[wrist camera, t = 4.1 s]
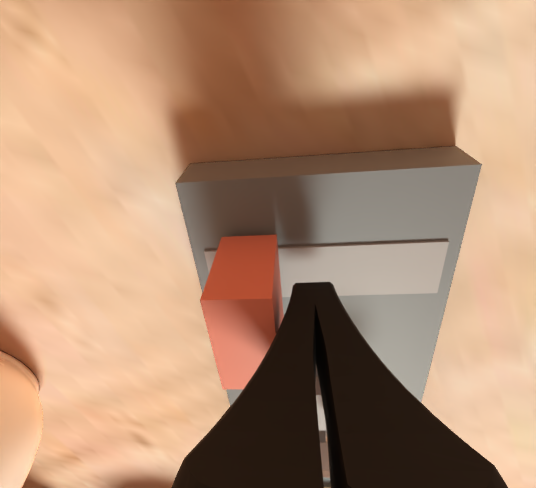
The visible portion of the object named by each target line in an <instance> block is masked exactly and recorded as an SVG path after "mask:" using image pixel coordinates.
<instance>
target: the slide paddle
mask: <svg viewBox="0 0 536 488" xmlns="http://www.w3.org/2000/svg"><path fill="white" fill-rule="evenodd" d="M200 302H201V306H202V310H203V314H204V318H205V322H206V325H207V329H208V333H209V337H210V341H211V345H212V349H213V353H214V357H215V361H216V365H217V368H218V372H219V376H220V380H221V384H222V388H223V389H244V388H245V386H246V385H247V383H248V382H249V380H250V379H251V378H252V376H253V375H254V373H255V372H256V370H257V368H258V367H259V365H260V363H261V362H262V360H263V358H264V357H265V355H266V353H267V351H268V349H269V348H270V346H271V344H272V342H273V340H274V338H275V336H276V334H277V332H278V329H279V327H280V325H281V322H282V320H283V317H284V314H283V302H282V291H281V279H280V267H279V256H278V244H277V235H255V236H233V237H221V240H220V243H219V246H218V249H217V252H216V255H215V258H214V261H213V264H212V267H211V270H210V273H209V276H208V279H207V281H206V284H205V287H204V290H203V293H202V296H201V299H200Z"/></svg>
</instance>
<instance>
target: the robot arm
mask: <svg viewBox="0 0 536 488" xmlns="http://www.w3.org/2000/svg"><path fill="white" fill-rule="evenodd" d="M316 366H317V372H318V379H319V385H320V391H321V397H322V403H323V409H324V415H325V423H326V431H327V444H328V457H329V471H330V484H331V488H508V487H507V485H506V483H505V482H504V480H503V479H502V477H501V475H500V474H499V472H498V471H497V469H496V467H495V466H494V465H493V464H492V463H490V462H489V461H488V460H487V459H485V458H484V457H483V456H482V455H480V454H479V453H478V452H477V451H475V450H474V449H473V448H471V447H470V446H469V445H468V444H467V443H465V442H464V441H463V440H462V439H461V438H459V437H458V436H457V435H456V434H455V433H453V432H452V431H451V430H450V429H449V428H448V427H447V426H445V425H444V424H443V423H442V422H441V421H440V420H439V419H438V418H436V417H435V416H434V415H433V414H432V413H431V412H430V411H429V410H428V409H427V408H426V407H425V406H424V405H423V404H422V403H421V402H420V401H419V400H418V399H417V398H416V397H415V396H414V395H412V394H411V393H410V392H409V391H408V390H407V389H406V388H405V387H404V386H403V384H402V383H401V382H400V381H399V380H398V379H397V378H396V377H395V376H394V375H393V374H392V372H391V371H390V370H389V369H388V368H387V367H386V366H385V364H384V363H383V362H382V361H381V360H380V358H379V357H378V356H377V355H376V353H375V352H374V351H373V350H372V348H371V347H370V346H369V344H368V343H367V342H366V340H365V339H364V337H363V336H362V335H361V333H360V332H359V330H358V329H357V327H356V326H355V324H354V323H353V321H352V319H351V318H350V316H349V315H348V313H347V311H346V310H345V308H344V306H343V304H342V303H341V301H340V299H339V297H338V295H337V293H336V290H335V288H334V285H333V284H332V283H331V282H306V283H295V284H294V285H293V287H292V293H291V297H290V301H289V304H288V307H287V310H286V313H285V315H284V317H283V320H282V322H281V325H280V327H279V329H278V332H277V334H276V336H275V338H274V340H273V342H272V344H271V346H270V348H269V349H268V351H267V353H266V355H265V357H264V358H263V360H262V362H261V363H260V365H259V367H258V368H257V370H256V372H255V373H254V375H253V376H252V378H251V379H250V380H249V382H248V383H247V385H246V386H245V388H244V389H243V391H242V392H241V393H240V395H239V396H238V397H237V399H236V400H235V401H234V403H233V404H232V405H231V406H230V408H229V409H228V410H227V411H226V412H225V414H224V415H223V416H222V417H221V419H220V420H219V421H218V422H217V424H216V425H215V426H214V427H213V428H212V429H211V430H210V431H209V433H208V434H207V435H206V436H205V437H204V438H203V439H202V440H201V441H200V442H199V443H198V444H197V445H196V446H195V448H194V449H193V450H192V451H191V452H190V453H189V454H188V455H187V456H186V457H185V458H184V460H183V462H182V464H181V467H180V469H179V471H178V473H177V475H176V478H175V480H174V483H173V485H172V488H324V483H323V472H322V461H321V449H320V438H319V426H318V414H317V401H316V388H315V385H316Z"/></svg>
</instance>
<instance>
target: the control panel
mask: <svg viewBox="0 0 536 488" xmlns="http://www.w3.org/2000/svg"><path fill="white" fill-rule="evenodd" d="M481 165H482V164H481V163H479V162H478V161H476V160H475V159H474V158H472V157H471V156H469V155H468V154H467V153H465V152H464V151H462V150H461V149H459V148H458V147H457V146H448V147H433V148H418V149H403V150H388V151H373V152H358V153H343V154H328V155H313V156H298V157H283V158H268V159H253V160H238V161H223V162H208V163H193V164H190V165H189V166H188V167H187V169H186V170H185V171H184V173H183V174H182V175H181V176H180V178H179V179H178V180H177V182H176V187H177V191H178V196H179V200H180V204H181V208H182V212H183V216H184V220H185V224H186V228H187V232H188V236H189V240H190V244H191V248H192V252H193V256H194V260H195V264H196V268H197V272H198V277H199V281H200V285H201V289H202V293H203V290H204V287H205V284H206V281H207V279H208V276H209V273H210V270H211V267H212V264H213V261H214V258H215V255H216V252H217V249H218V246H219V243H220V240H221V237H233V236H255V235H277V244H278V256H279V267H280V279H281V291H282V302H283V314H284V315H285V313H286V310H287V307H288V304H289V301H290V297H291V293H292V287H293V285H294V284H295V283H306V282H331V283H332V284H333V285H334V288H335V290H336V293H337V295H338V297H339V299H340V301H341V303H342V304H343V306H344V308H345V310H346V311H347V313H348V315H349V316H350V318H351V319H352V321H353V323H354V324H355V326H356V327H357V329H358V330H359V332H360V333H361V335H362V336H363V337H364V339H365V340H366V342H367V343H368V344H369V346H370V347H371V348H372V350H373V351H374V352H375V353H376V355H377V356H378V357H379V358H380V360H381V361H382V362H383V363H384V364H385V366H386V367H387V368H388V369H389V370H390V371H391V372H392V374H393V375H394V376H395V377H396V378H397V379H398V380H399V381H400V382H401V383H402V384H403V386H404V387H405V388H406V389H407V390H408V391H409V392H410V393H411V394H412V395H414V396H415V397H416V398H417V399H418V400H419V401H420V402H421V401H422V397H423V393H424V389H425V385H426V381H427V377H428V374H429V370H430V366H431V362H432V358H433V354H434V350H435V346H436V342H437V338H438V334H439V330H440V326H441V322H442V319H443V315H444V311H445V307H446V303H447V299H448V295H449V291H450V287H451V283H452V279H453V275H454V271H455V267H456V263H457V260H458V256H459V252H460V248H461V244H462V240H463V236H464V232H465V228H466V224H467V220H468V216H469V212H470V208H471V205H472V201H473V197H474V193H475V189H476V185H477V181H478V177H479V173H480V169H481ZM315 388H316V401H317V414H318V426H319V438H320V449H321V461H322V472H323V483H324V487H331V484H330V471H329V457H328V446H327V444H326V440H325V434H326V423H325V415H324V409H323V403H322V397H321V391H320V385H319V379H318V372H317V366H316V385H315ZM226 390H227V394H228V398H229V402H230V406H231V405H232V404H233V403H234V401H235V400H236V399H237V397H238V396H239V395H240V393H241V392H242V391H243V389H226Z"/></svg>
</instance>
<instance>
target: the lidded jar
mask: <svg viewBox="0 0 536 488" xmlns="http://www.w3.org/2000/svg"><path fill="white" fill-rule="evenodd" d="M39 390H40V389H39V383H38V380H37V378H36V377H35V375H34V374H33V373H32V371H31V370H30V369H29V368H28V367H27V366H25V365H24V364H23V363H22V362H20V361H19V360H17V359H16V358H14V357H12V356H10V355H8V354H7V353H4V352H2V351H0V488H22V486H23V484H24V482H25V480H26V478H27V476H28V473H29V471H30V469H31V467H32V465H33V462H34V459H35V456H36V453H37V451H38V448H39V445H40V441H41V436H42V430H43V411H42V405H41V402H40V399H39V396H38V394H39Z"/></svg>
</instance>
